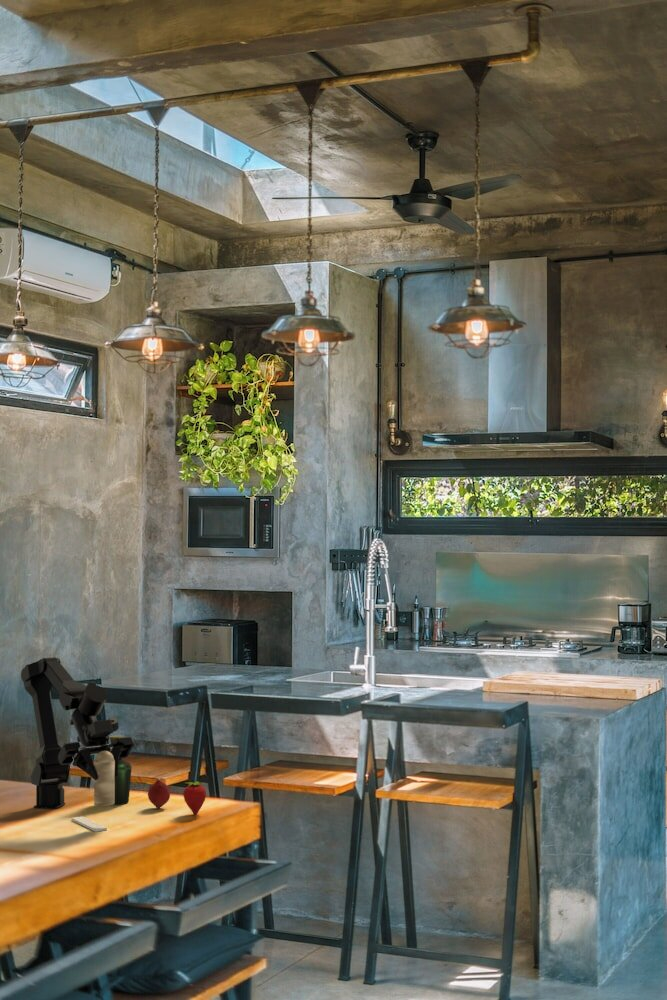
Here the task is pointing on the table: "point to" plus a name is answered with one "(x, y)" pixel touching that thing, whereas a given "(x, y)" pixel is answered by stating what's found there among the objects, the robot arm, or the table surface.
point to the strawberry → (194, 796)
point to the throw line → (89, 824)
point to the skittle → (104, 779)
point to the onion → (159, 793)
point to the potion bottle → (122, 778)
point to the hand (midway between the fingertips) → (106, 777)
